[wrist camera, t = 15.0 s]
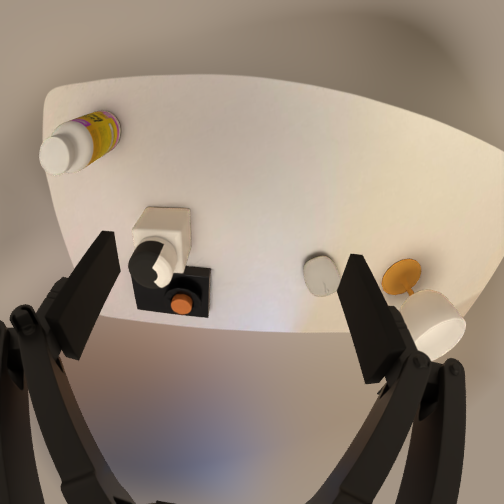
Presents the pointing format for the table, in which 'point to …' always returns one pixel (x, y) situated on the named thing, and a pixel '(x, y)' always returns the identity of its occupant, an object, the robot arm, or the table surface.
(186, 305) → the button
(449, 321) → the cup
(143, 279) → the medicine bottle
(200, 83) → the table surface
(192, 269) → the machine
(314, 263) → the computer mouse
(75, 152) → the supplement bottle
